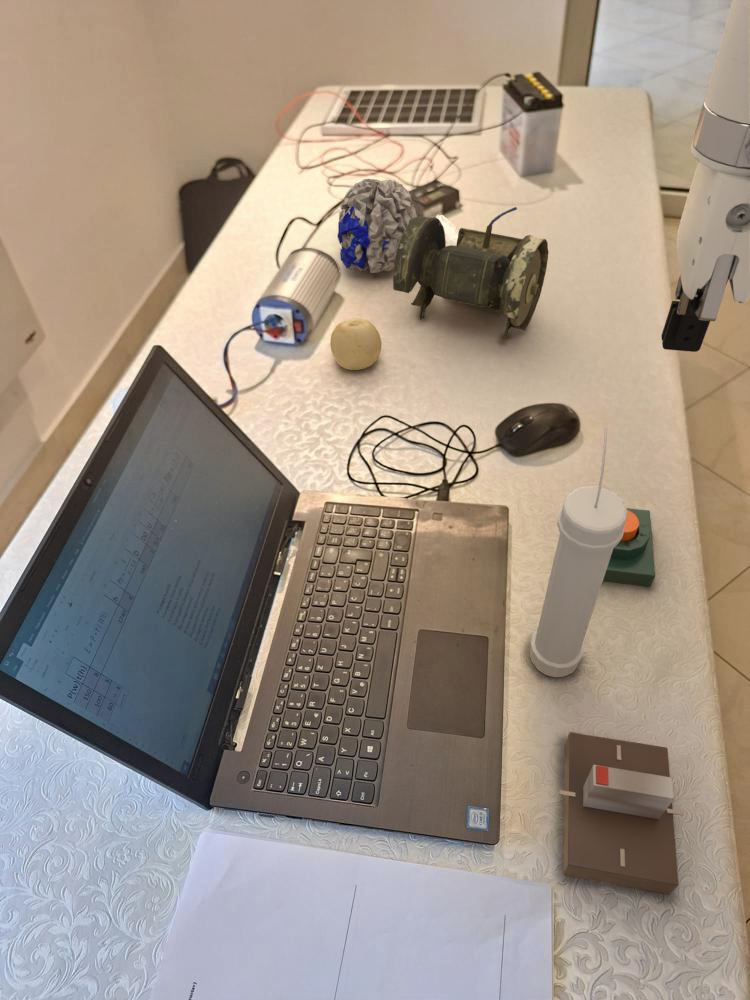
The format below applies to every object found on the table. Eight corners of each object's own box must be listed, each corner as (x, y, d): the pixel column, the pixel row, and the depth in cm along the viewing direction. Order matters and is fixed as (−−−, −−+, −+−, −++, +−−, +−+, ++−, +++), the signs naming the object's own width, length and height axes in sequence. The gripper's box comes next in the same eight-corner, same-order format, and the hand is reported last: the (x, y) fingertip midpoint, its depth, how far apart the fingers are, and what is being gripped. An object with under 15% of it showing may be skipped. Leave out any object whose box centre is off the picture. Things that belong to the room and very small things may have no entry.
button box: (650, 587, 84) (659, 566, 81) (579, 578, 85) (585, 557, 82) (645, 522, 90) (653, 500, 87) (579, 514, 91) (585, 493, 89)
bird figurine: (422, 251, 139) (444, 263, 131) (426, 213, 136) (448, 223, 128) (446, 250, 141) (469, 262, 133) (449, 213, 137) (473, 223, 129)
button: (636, 543, 83) (640, 534, 82) (604, 540, 84) (607, 530, 83) (635, 520, 86) (638, 510, 85) (603, 516, 86) (606, 507, 85)
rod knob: (657, 799, 65) (673, 776, 61) (659, 819, 64) (675, 797, 60) (583, 786, 66) (593, 763, 62) (583, 806, 65) (593, 784, 61)
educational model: (339, 296, 138) (321, 248, 124) (356, 207, 143) (340, 151, 129) (411, 300, 135) (401, 250, 121) (425, 209, 140) (417, 152, 126)
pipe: (527, 677, 77) (574, 480, 54) (527, 626, 81) (570, 424, 59) (581, 682, 76) (650, 485, 54) (578, 631, 80) (641, 429, 58)
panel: (679, 897, 62) (690, 887, 60) (552, 873, 64) (557, 862, 61) (668, 761, 70) (677, 748, 68) (555, 743, 72) (560, 729, 69)
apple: (346, 383, 110) (323, 338, 107) (342, 371, 118) (320, 329, 115) (392, 359, 110) (370, 313, 107) (385, 349, 117) (364, 306, 114)
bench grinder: (509, 358, 108) (550, 217, 100) (377, 317, 115) (405, 182, 106) (538, 341, 125) (575, 220, 117) (422, 307, 132) (449, 190, 124)
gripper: (831, 184, 46) (734, 403, 60) (788, 96, 56) (713, 302, 70) (707, 178, 47) (640, 394, 61) (686, 92, 57) (632, 296, 71)
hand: (679, 344), depth 65 cm, fingers closed
